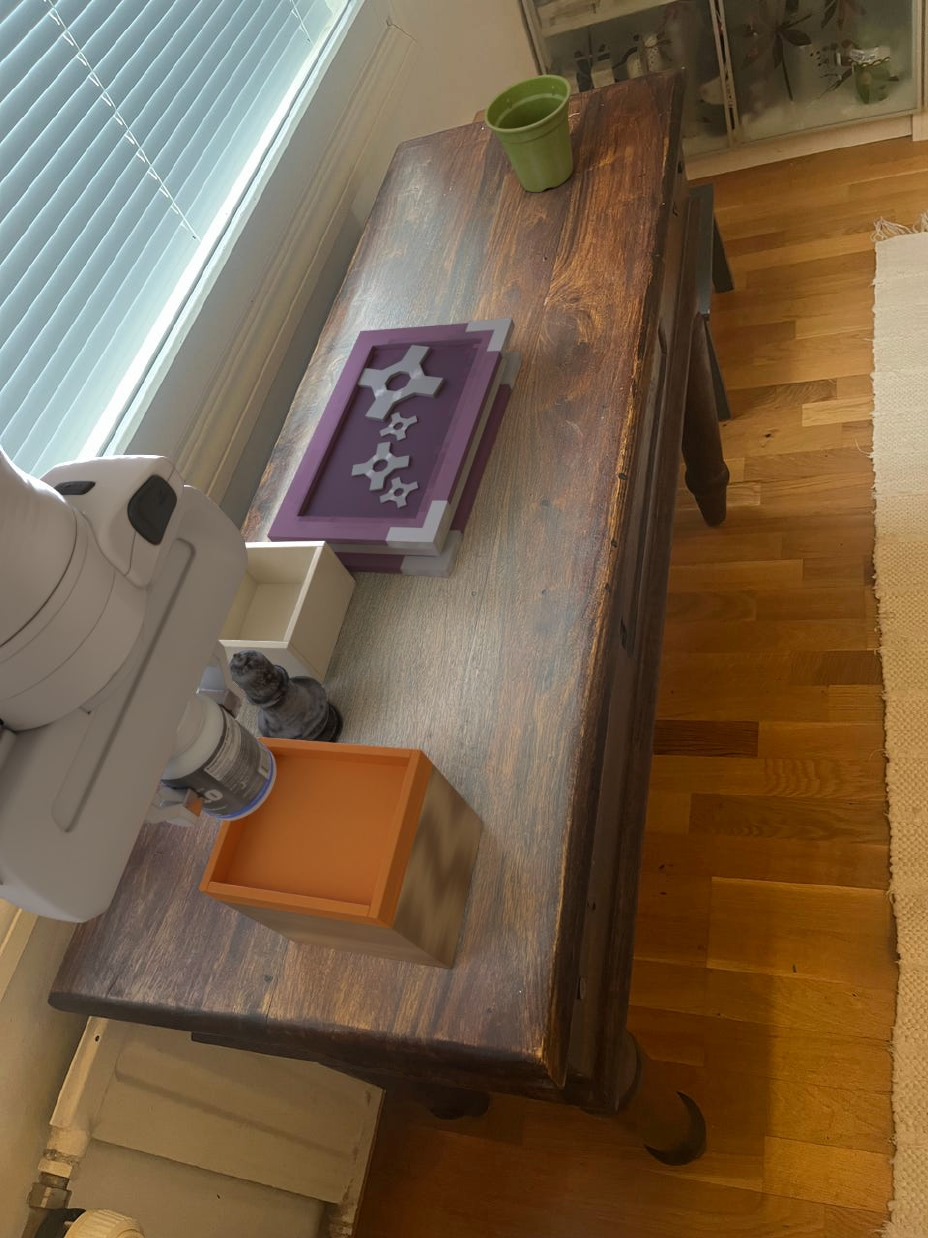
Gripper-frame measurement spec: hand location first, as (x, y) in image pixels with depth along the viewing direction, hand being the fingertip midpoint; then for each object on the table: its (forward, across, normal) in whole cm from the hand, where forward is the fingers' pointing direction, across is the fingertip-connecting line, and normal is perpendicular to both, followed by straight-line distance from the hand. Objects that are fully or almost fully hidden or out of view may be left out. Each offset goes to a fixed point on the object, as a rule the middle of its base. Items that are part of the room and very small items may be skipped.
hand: (211, 757), depth 49 cm
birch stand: (+21, 0, -2) cm, 21 cm away
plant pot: (+20, +80, +1) cm, 83 cm away
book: (+21, +39, +7) cm, 44 cm away
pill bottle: (+3, 0, 0) cm, 3 cm away
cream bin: (+20, +20, +14) cm, 32 cm away
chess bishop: (+21, +11, +8) cm, 25 cm away
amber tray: (+11, 0, -2) cm, 11 cm away
